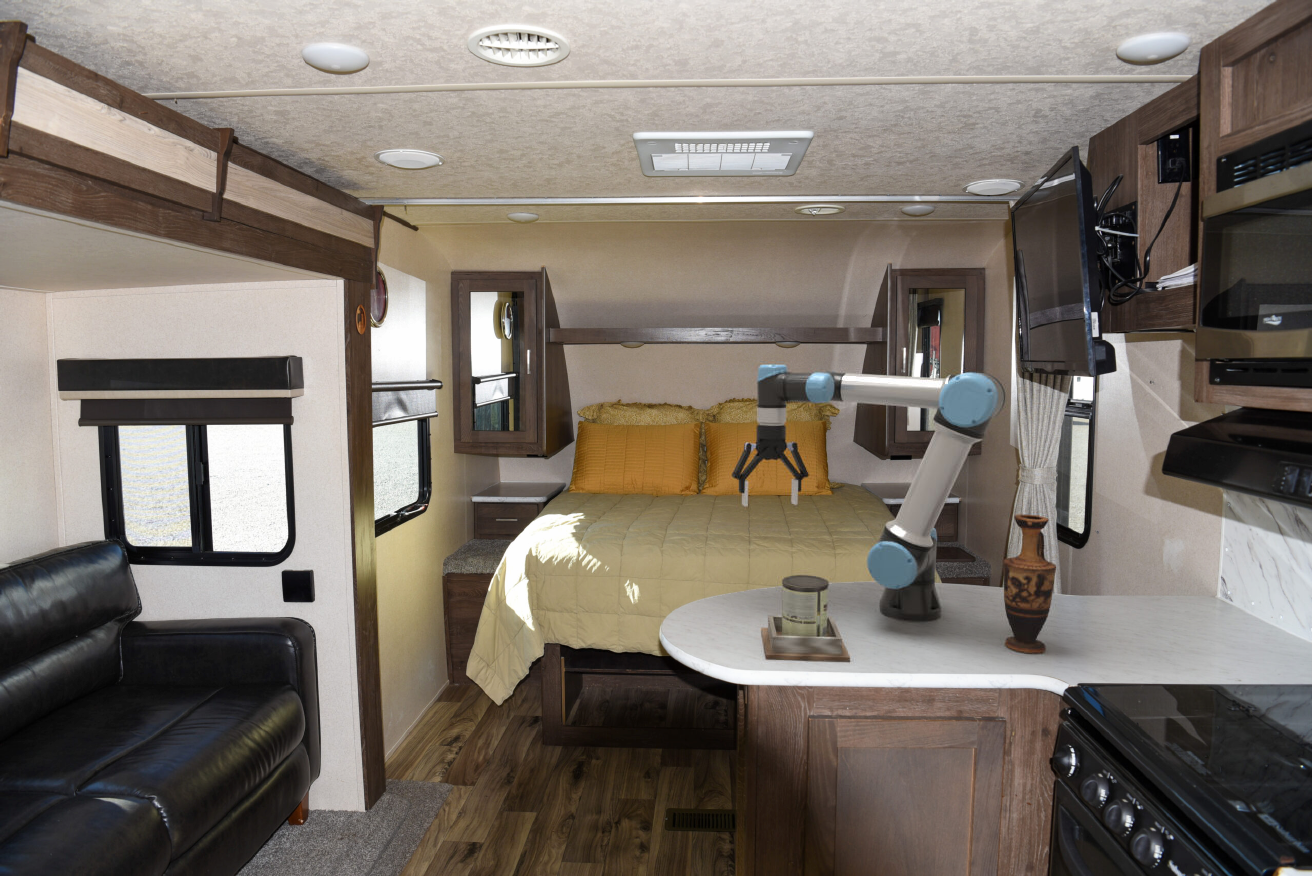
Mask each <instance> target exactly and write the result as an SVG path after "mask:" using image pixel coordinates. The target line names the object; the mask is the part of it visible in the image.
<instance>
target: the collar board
mask: <svg viewBox="0 0 1312 876" xmlns="http://www.w3.org/2000/svg"><path fill="white" fill-rule="evenodd" d="M760 633H761V634H760V635H761V638H762V645H763V652H764V657H765V660H774V661H775V660H778V661H779V660H780V661H782V660H783V661H808V662H809V661H811V662H838V663H839V662H844V663H845V662H847V663H850V662H851V657H850V654H849V652H848V649H847V648H846V645H845V643H844V640H843V637H842V636H841V632H840V631H839V629H838V626H837V624H836V622H835V619H834V617H832V616H827V637H811V636H782V615H773V614H770V615H767V627H761V628H760Z"/></svg>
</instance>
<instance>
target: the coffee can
mask: <svg viewBox="0 0 1312 876" xmlns="http://www.w3.org/2000/svg"><path fill="white" fill-rule="evenodd" d="M781 582H782V601H781V605H782V606H781V607H782V614H781V616H782V636H811V637H827V617H828V601H829V600H828V599H829V598H828V596H829V593H828V592H829V581H828V580H827V579H825V578H823V577H820V576H816V575H808V574H807V575H806V574H797V575H796V574H795V575H789V576H786V577H783V579H782V580H781Z"/></svg>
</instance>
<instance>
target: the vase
mask: <svg viewBox="0 0 1312 876" xmlns="http://www.w3.org/2000/svg"><path fill="white" fill-rule="evenodd" d="M1013 518H1014V521H1015V523H1016V525H1017V526H1018V527H1019V529H1021V535H1022V536H1021V537H1022V538H1021V550H1020V553H1019V555H1018V556H1017V555H1016V556H1015V557H1008V558H1005V559H1004V560H1003V562H1002V564H1003V565H1002V566H1003V601H1004V609H1005V610H1004V611H1005V615H1006V617H1007V618H1006V619H1007V622H1008V624H1009V626H1010V628H1011V631H1012V635H1013V636H1009V637H1007V638H1005V641H1004V646H1005V647H1007V648H1008V649H1010V650H1012V651H1015V652H1018V653H1024V654H1042V653H1045V652H1046V650H1047V648H1046V644H1045V643H1044V642H1042V641H1041V640H1038V636H1039V635H1040V633H1041V631H1042V629H1043V627H1044V625H1045V624H1046V622H1047V619H1048V616H1049V613H1050V610H1051V609H1050V608H1051V605H1052V599H1053V593H1054V586H1055V577H1056V570H1057V565H1056V564H1055V563H1054V562H1051V561H1048V560H1047V559H1046V557H1045V535H1044V533H1043V532H1042V531H1041V530H1043V529H1044V528H1045V527H1046V526H1047V524H1048V522H1049V518H1047V517H1044V516H1042V515H1036V514H1022V513H1021V514H1015V515H1014V516H1013Z"/></svg>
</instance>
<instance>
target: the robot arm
mask: <svg viewBox="0 0 1312 876" xmlns="http://www.w3.org/2000/svg"><path fill="white" fill-rule="evenodd" d="M756 384H757V386H756V387H757V390H756V391H757V392H756V393H757V396H756V397H757V400H756V401H757V404H756V408H757V410H756V422H757V423H758V424H757V426H756V442H755V443H751V442H748V441H747V442H745V443H744V445H743V451H742V453H741V456H740V457H739V458H738V461H737V463H736V466H735V467H734V469H733V471H732V472H731V478H732V479H736V480H737V481H738V493H739V494H741V505H742V506H743V507H748V505H749V504H748V503H749V481H748V480H747V478H748V477H749V476H750V475H751V474H752V473H753V471H754V470H755V469H756V468H757V466H758V465H759V464H760V463H761V462H762V461H763V460H765V461H770V460H774V461H778V460H780V461H781V462H782V464H783V466H784V467H786V469H787V470H788V471H789V472H790V473H791V475H792V476H793V477H794V478H791V493H790V495H791V503H790V504H793V505H794V506H797V505H799V504H798V503H799V500H798V499H799V498H798V497H799V493H801V491H802V481H803V479H805V478H808V477H809V475H810V474H809V472H808V469H807V467H806V466H805V463H804V461H803V459H802V457H801V454H800V453H799V447H798V443H797V442H795V441H790V442H786V439H787V438H786V437H787V435H786V434H787V426H786V425H785V423H786V422H787V403H788V402H789V403H790V402H793V403H794V402H795V403H812V404H824V403H825V404H826V403H829V402H842V403H843V402H846V403H855V404H856V403H857V404H867V405H868V404H869V405H883V406H895V407H896V406H897V407H906V408H907V407H908V408H918V409H919V408H921V409H932V410H934V409H935V410H936V411H935V414H934V416H933V419H932V423H933V424H934V427H935V431H934V433H933V435H932V436H931V440H930V441H929V444H928V446H927V449H926V450H925V453H924V455H923V457H922V460H921V462H920V464H919V466H918V468H917V471H916V472H915V475H914V477H913V479H912V481H911V484H910V486H909V489H908V490H907V493H906V495H905V497H904V500H903V502H902V504H901V506H900V508H899V511H898V513H897V515H896V517H895V519H893V520H890V521H887V522H886V523H885V526H884V528H883V530H882V532H881V535H880V537H879V538H878V541H877V542H876V543H875V544H874V545H873V546H872V547H871V548H870V550H869V552H868V553H867V554H868V555H867V557H866V559H867V560H866V564H867V565H866V567H867V569H868V572H869V574H870V576H871V577H872V579H873V580H874V581H875V582H876V583H877V584H879V585H880V586H882V587H884V589H883V591H882V595H881V596H880V600H879V612H880V613H881V614H883V615H884V616H886V617H888V618H893V619H895V620H896V619H897V620H902V621H908V622H929V621H934V620H938V619H940V618H941V616H942V605H941V601H940V598H939V594H938V592H937V587H936V568H937V567H936V565H937V563H936V561H937V546H938V545H937V542H938V536H937V530H936V528H935V526H936V523H937V522H938V521H937V520H938V519H939V516H940V514H941V512H942V510H943V508H944V506H945V504H946V501H947V499H948V497H949V496H950V493H951V491H952V489H953V487H954V484H955V482H956V480H957V479H958V476H959V473H960V472H961V470H962V467H963V466H964V463H965V461H966V459H967V457H968V455H969V452H970V450H971V449H972V447H973V446H972V445H974V444H975V443H978V442H981V441H983V440H984V437H985V435H986V433H987V431H988V429H989V427H990V424H991V422H992V420H993V419H994V418H996V417H997V416H999V414H1000V413H1001V412H1002V411H1003V410H1004V407H1005V405H1006V401H1007V392H1006V389H1005V386H1004V385H1003V383H1002V382H1001V381H1000V380H999V379H998V378H997V377H996V376H994V375H992V374H989V373H985V372H964V373H960V374H949V375H948V376H946V377H945V378H940V377H939V378H938V377H922V376H920V377H919V376H904V375H903V376H902V375H886V374H885V375H884V374H871V373H870V374H868V373H867V374H866V373H852V372H851V373H850V372H845V373H844V372H836V371H824V372H823V371H822V372H820V371H819V372H817V371H816V372H792V371H791V372H790V371H788V366H787V365H786V364H761V365H760V366H758V370H757V380H756ZM754 449H755V451H756V454H755V455H754V457H753V458H752V459H751V461H750V462H749V463H748V464H747V461H748V460H749V457H750V455H751V452H753V451H754ZM786 450H788V451H790V453H791V455H792V458H793V460H794V462H795V465H796V466H797V469H796V467H795V466H794V465H793V463H792V462H791V461H790V460H789V458H788V457H787V455H786V454H785V453H784V452H785V451H786ZM746 464H747V466H746ZM745 466H746V467H745ZM744 467H745V468H744Z"/></svg>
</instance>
